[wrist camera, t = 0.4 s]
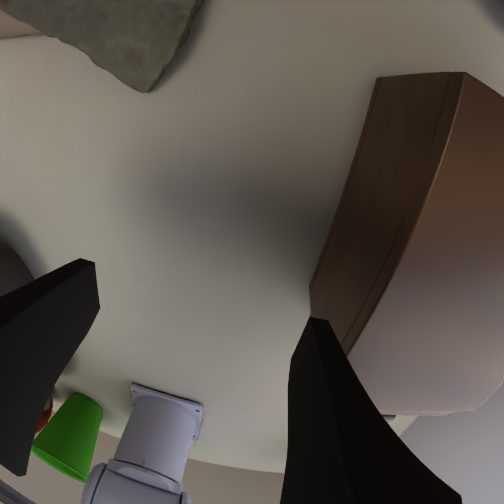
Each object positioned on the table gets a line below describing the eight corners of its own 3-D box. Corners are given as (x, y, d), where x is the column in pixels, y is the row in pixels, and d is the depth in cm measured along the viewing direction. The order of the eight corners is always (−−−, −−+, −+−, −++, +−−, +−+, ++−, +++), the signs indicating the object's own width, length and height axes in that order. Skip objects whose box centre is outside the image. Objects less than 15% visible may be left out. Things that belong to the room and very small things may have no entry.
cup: (118, 428, 37) (94, 488, 27) (66, 404, 36) (38, 458, 27) (113, 402, 32) (82, 473, 23) (54, 373, 32) (17, 436, 22)
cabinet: (435, 314, 20) (476, 410, 12) (308, 286, 20) (313, 404, 12) (513, 148, 13) (610, 201, 5) (376, 77, 13) (464, 70, 5)
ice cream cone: (135, 0, 13) (-2, -16, 9) (102, -19, 9) (-41, -20, 5) (103, 65, 15) (-23, 35, 12) (62, 65, 11) (-63, 39, 7)
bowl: (43, 219, 20) (-9, 260, 14) (90, 386, 31) (70, 425, 25) (-31, 203, 20) (-73, 232, 15) (21, 354, 31) (-2, 385, 26)
